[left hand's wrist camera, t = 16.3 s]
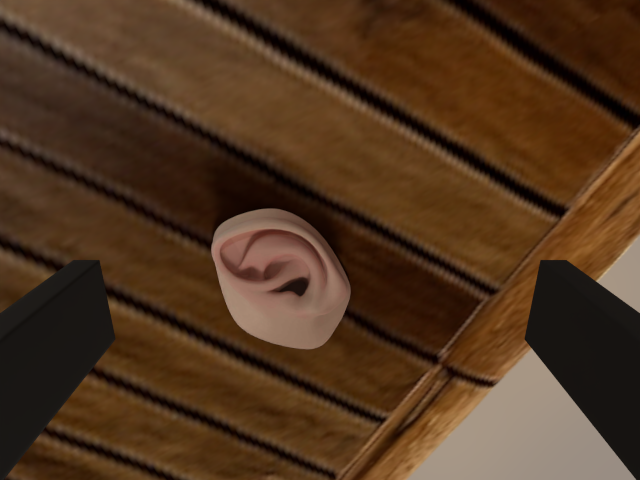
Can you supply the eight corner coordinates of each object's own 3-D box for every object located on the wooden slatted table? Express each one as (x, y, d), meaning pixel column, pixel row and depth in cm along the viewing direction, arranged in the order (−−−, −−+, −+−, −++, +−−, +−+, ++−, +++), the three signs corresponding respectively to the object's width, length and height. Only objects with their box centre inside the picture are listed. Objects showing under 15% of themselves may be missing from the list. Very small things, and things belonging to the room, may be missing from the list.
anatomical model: (351, 375, 34) (211, 376, 34) (347, 347, 38) (221, 347, 38) (359, 222, 30) (197, 221, 30) (353, 207, 34) (210, 206, 33)
